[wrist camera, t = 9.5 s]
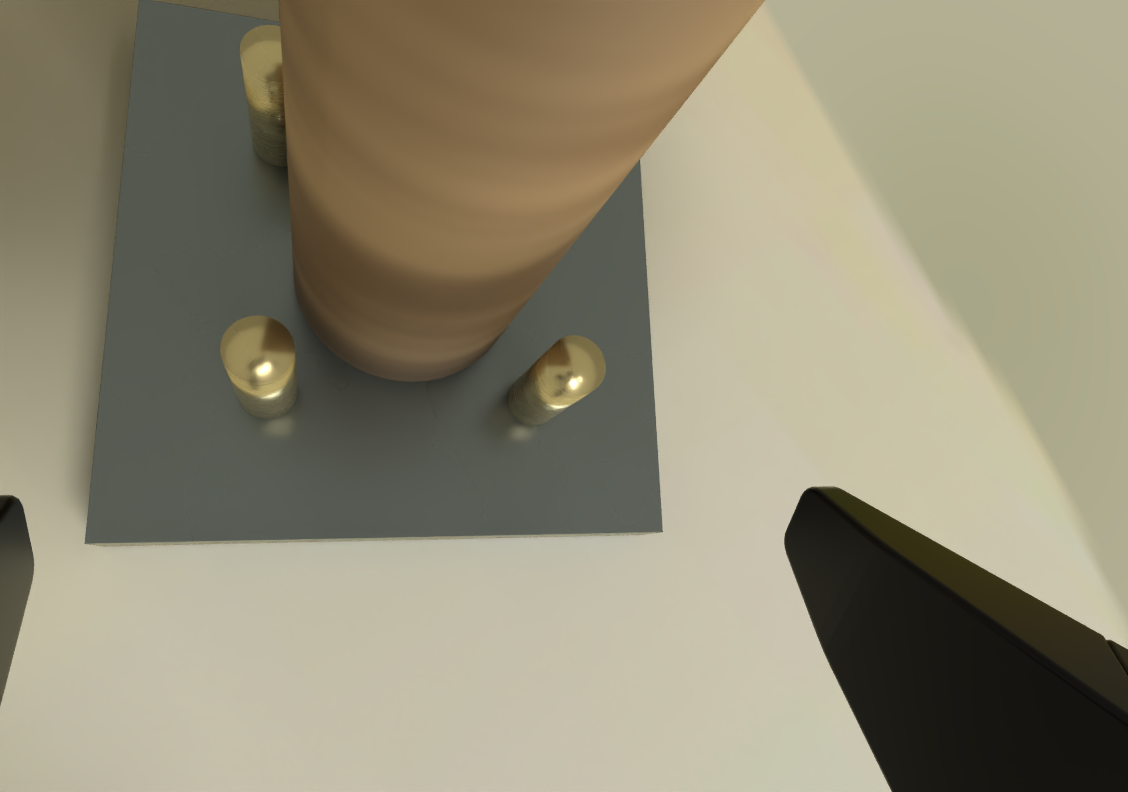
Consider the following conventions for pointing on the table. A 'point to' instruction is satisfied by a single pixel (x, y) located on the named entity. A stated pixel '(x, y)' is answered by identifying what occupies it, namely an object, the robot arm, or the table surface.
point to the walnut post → (466, 154)
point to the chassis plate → (318, 376)
